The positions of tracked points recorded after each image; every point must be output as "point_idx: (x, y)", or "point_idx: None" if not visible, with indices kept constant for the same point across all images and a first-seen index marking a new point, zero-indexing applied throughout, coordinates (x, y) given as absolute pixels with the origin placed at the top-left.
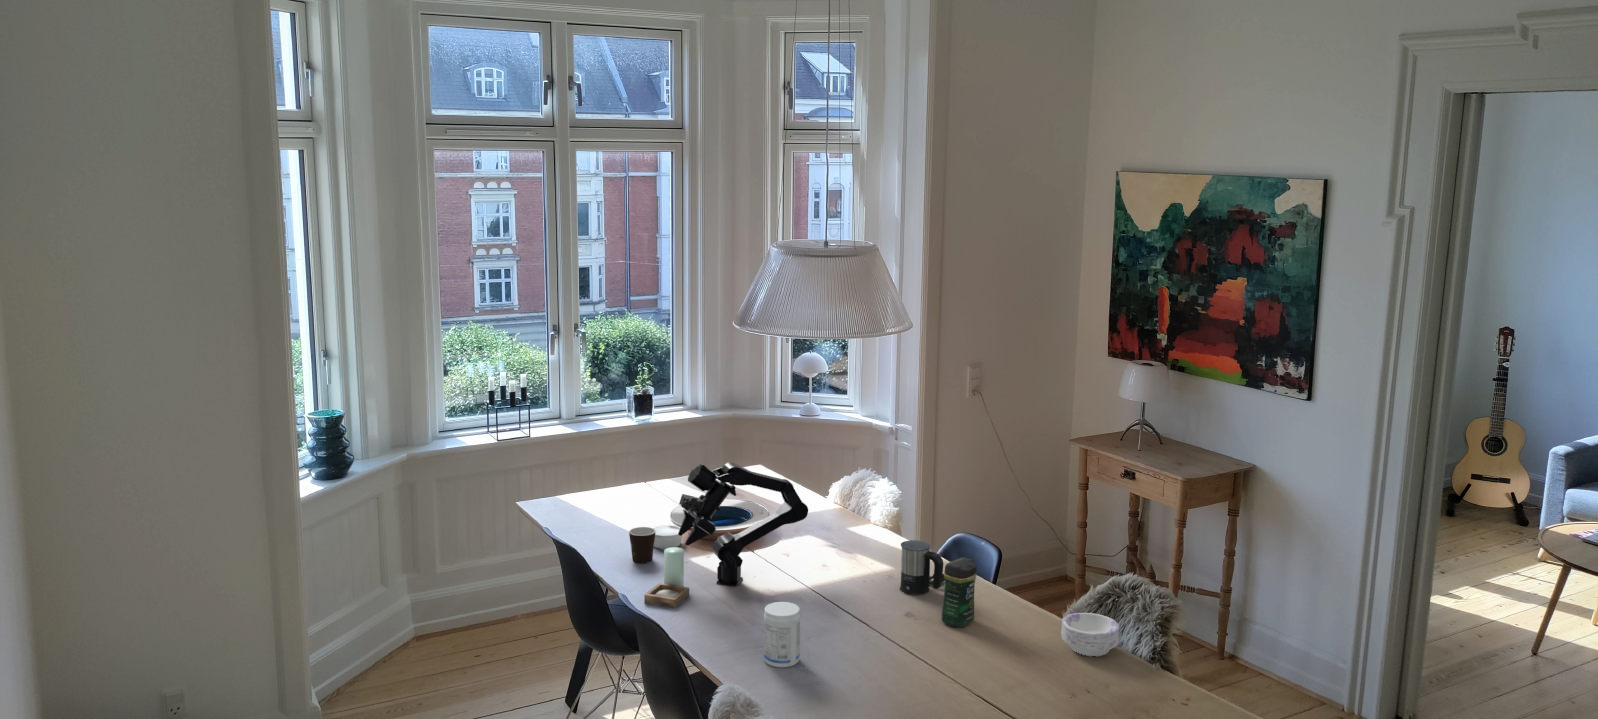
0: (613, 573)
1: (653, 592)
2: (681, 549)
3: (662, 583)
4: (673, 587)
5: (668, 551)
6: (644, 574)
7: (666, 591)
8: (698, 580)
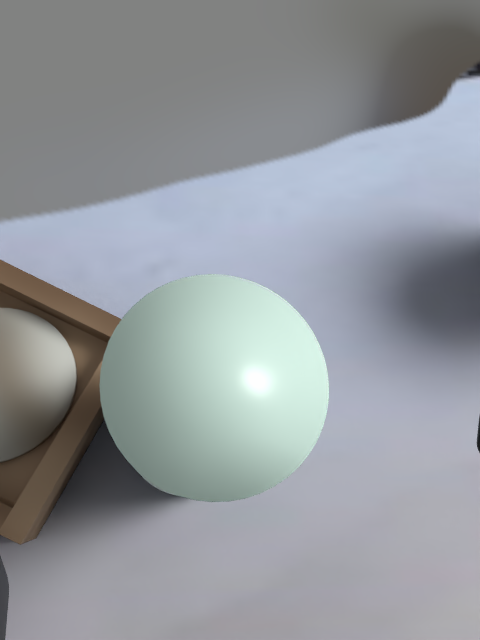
0: (382, 152)
1: (21, 297)
2: (255, 470)
3: None
4: (66, 422)
5: (197, 317)
6: (380, 277)
7: (44, 378)
8: (303, 599)
